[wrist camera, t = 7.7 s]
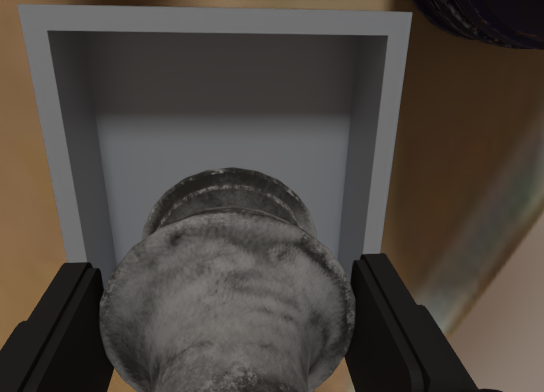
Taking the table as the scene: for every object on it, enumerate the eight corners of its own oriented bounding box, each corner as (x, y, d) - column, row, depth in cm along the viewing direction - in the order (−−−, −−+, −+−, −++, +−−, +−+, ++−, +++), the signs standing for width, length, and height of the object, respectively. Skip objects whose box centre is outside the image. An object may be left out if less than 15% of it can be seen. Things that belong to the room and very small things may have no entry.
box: (346, 261, 26) (371, 316, 21) (107, 269, 25) (80, 329, 20) (371, 10, 20) (412, 12, 16) (67, 4, 19) (17, 4, 15)
